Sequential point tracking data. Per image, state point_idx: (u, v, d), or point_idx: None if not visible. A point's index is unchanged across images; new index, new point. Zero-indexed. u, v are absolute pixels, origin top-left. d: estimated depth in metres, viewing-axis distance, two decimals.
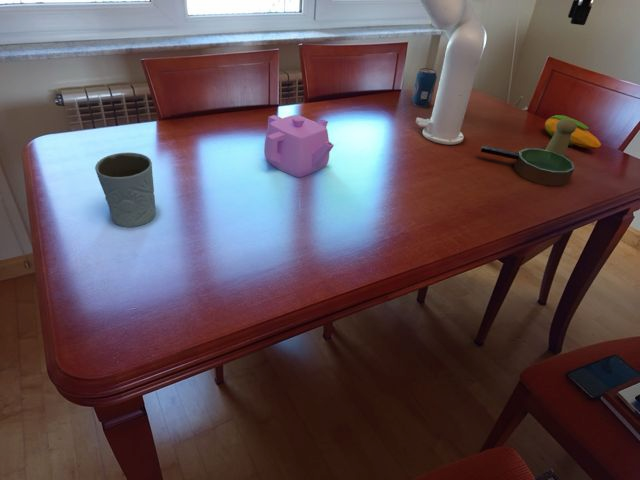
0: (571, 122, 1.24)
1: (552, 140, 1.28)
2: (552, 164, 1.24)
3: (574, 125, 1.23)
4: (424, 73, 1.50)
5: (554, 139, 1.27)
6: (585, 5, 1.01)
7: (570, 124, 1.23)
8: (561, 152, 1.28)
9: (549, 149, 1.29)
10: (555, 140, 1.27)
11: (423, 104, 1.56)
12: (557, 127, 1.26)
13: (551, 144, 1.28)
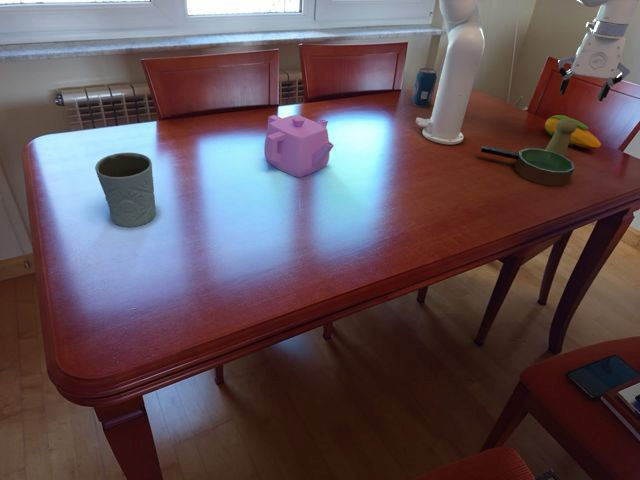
0: (571, 122, 1.24)
1: (552, 140, 1.28)
2: (552, 164, 1.24)
3: (574, 125, 1.23)
4: (424, 73, 1.50)
5: (554, 139, 1.27)
6: None
7: (570, 124, 1.23)
8: (561, 152, 1.28)
9: (549, 149, 1.29)
10: (555, 140, 1.27)
11: (423, 104, 1.56)
12: (557, 127, 1.26)
13: (551, 144, 1.28)
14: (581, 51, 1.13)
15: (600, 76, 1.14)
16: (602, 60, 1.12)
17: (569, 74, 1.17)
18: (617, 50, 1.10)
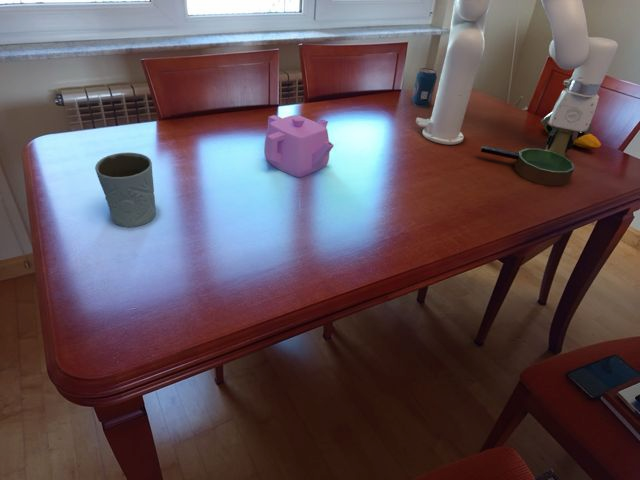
0: None
1: None
2: (552, 164, 1.24)
3: None
4: (424, 73, 1.50)
5: (554, 139, 1.27)
6: None
7: None
8: (561, 152, 1.28)
9: (549, 149, 1.29)
10: (555, 140, 1.27)
11: (423, 104, 1.56)
12: None
13: (551, 144, 1.28)
14: (558, 106, 1.21)
15: (575, 129, 1.23)
16: (577, 115, 1.21)
17: (553, 130, 1.26)
18: (591, 107, 1.18)
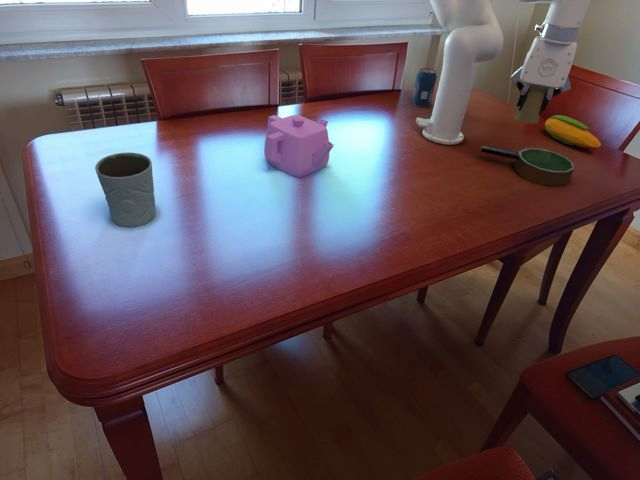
0: None
1: None
2: (552, 164, 1.24)
3: None
4: (424, 73, 1.50)
5: (526, 99, 1.08)
6: None
7: None
8: (535, 114, 1.08)
9: (521, 111, 1.09)
10: (527, 100, 1.07)
11: (423, 104, 1.56)
12: None
13: (523, 105, 1.09)
14: (529, 57, 1.02)
15: (550, 85, 1.03)
16: (552, 67, 1.01)
17: (525, 88, 1.07)
18: (568, 57, 0.99)
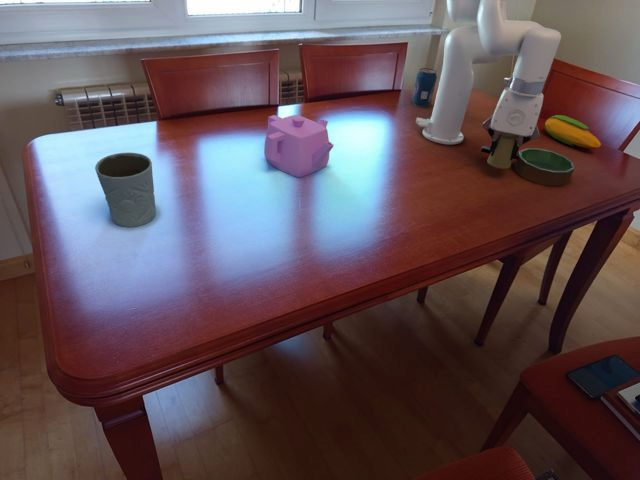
0: None
1: None
2: (552, 164, 1.24)
3: None
4: (424, 73, 1.50)
5: (497, 145, 1.12)
6: None
7: None
8: (506, 160, 1.12)
9: (492, 156, 1.13)
10: (498, 146, 1.11)
11: (423, 104, 1.56)
12: None
13: None
14: (498, 107, 1.06)
15: (519, 133, 1.07)
16: (520, 117, 1.05)
17: (496, 134, 1.11)
18: (535, 108, 1.03)
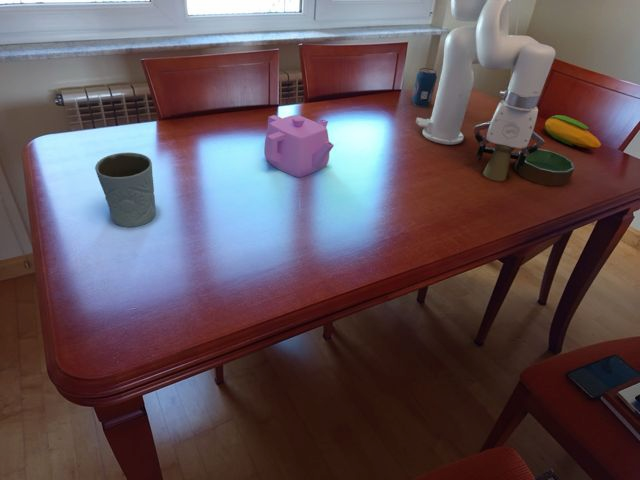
0: None
1: (491, 159, 1.15)
2: (552, 164, 1.24)
3: None
4: (424, 73, 1.50)
5: (493, 158, 1.14)
6: None
7: None
8: (501, 172, 1.14)
9: (488, 169, 1.15)
10: (494, 159, 1.13)
11: (423, 104, 1.56)
12: (495, 144, 1.12)
13: (490, 163, 1.15)
14: (494, 120, 1.08)
15: (514, 146, 1.09)
16: (515, 130, 1.07)
17: (484, 141, 1.13)
18: (529, 122, 1.05)
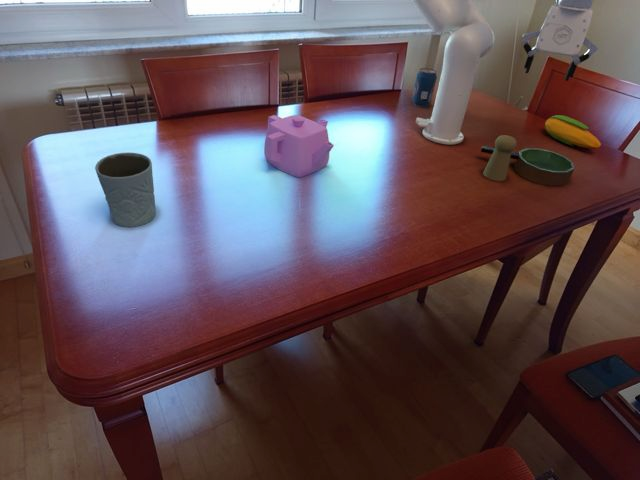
0: (510, 139, 1.10)
1: (491, 159, 1.15)
2: (552, 164, 1.24)
3: (513, 143, 1.10)
4: (424, 73, 1.50)
5: (493, 158, 1.14)
6: None
7: (508, 141, 1.10)
8: (501, 172, 1.14)
9: (488, 169, 1.15)
10: (494, 159, 1.13)
11: (423, 104, 1.56)
12: (495, 144, 1.12)
13: (490, 163, 1.15)
14: (545, 24, 1.05)
15: (565, 53, 1.06)
16: (567, 35, 1.04)
17: (533, 50, 1.09)
18: (583, 24, 1.01)
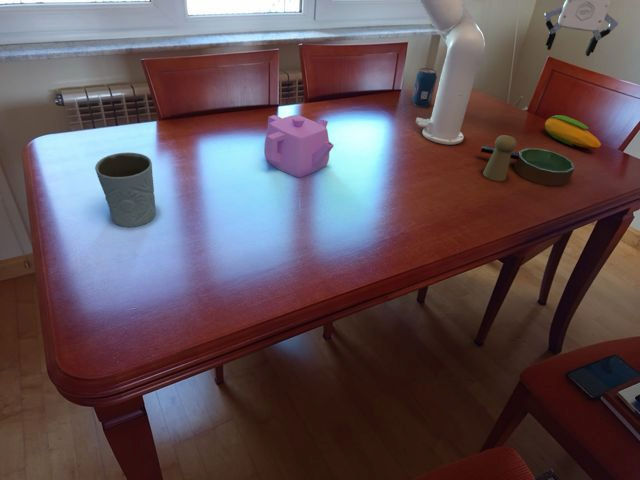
0: (510, 139, 1.10)
1: (491, 159, 1.15)
2: (552, 164, 1.24)
3: (513, 143, 1.10)
4: (424, 73, 1.50)
5: (493, 158, 1.14)
6: None
7: (508, 141, 1.10)
8: (501, 172, 1.14)
9: (488, 169, 1.15)
10: (494, 159, 1.13)
11: (423, 104, 1.56)
12: (495, 144, 1.12)
13: (490, 163, 1.15)
14: (568, 1, 1.09)
15: (587, 28, 1.10)
16: (589, 11, 1.08)
17: (556, 27, 1.14)
18: (605, 0, 1.06)
